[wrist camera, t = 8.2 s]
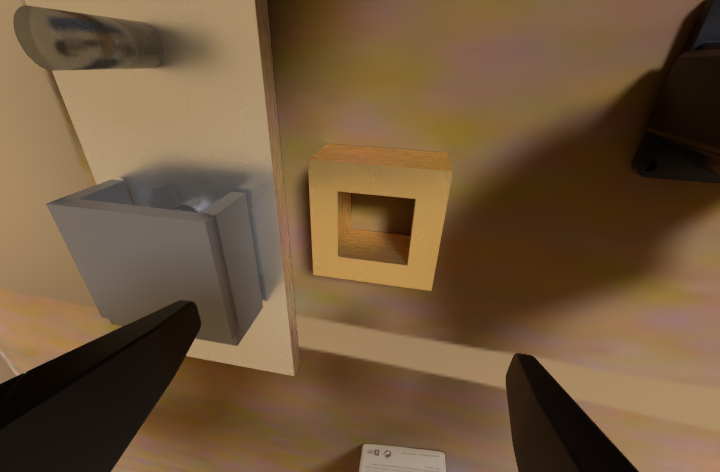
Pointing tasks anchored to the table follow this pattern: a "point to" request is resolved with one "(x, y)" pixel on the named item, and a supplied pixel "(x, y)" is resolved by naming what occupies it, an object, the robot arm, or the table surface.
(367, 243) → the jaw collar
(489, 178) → the table surface
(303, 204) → the table surface
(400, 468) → the supplement box
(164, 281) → the box
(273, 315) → the pin plate
